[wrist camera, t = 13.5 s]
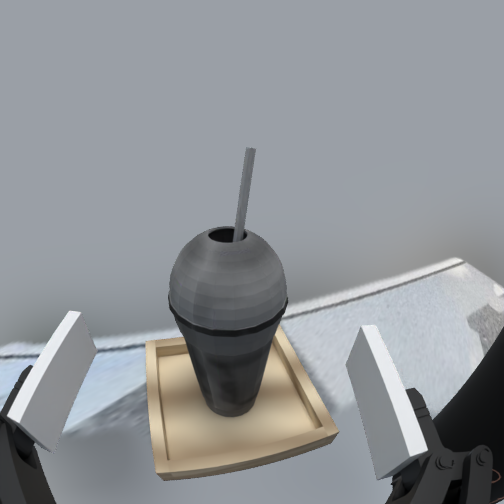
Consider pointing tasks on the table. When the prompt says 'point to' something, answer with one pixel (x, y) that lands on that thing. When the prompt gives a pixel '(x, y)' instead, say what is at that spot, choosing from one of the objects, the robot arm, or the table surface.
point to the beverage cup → (229, 307)
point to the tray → (230, 428)
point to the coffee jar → (478, 415)
